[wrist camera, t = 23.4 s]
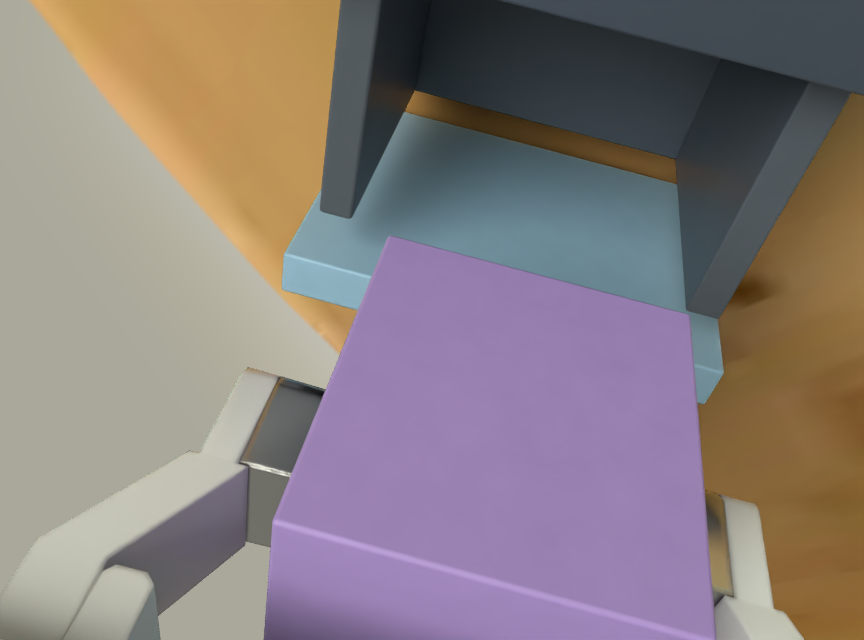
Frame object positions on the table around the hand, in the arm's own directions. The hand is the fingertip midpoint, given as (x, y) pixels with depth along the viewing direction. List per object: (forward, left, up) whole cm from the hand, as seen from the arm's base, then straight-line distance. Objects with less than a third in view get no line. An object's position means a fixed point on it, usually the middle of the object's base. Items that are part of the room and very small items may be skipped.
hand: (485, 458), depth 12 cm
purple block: (0, 0, -2) cm, 2 cm away
